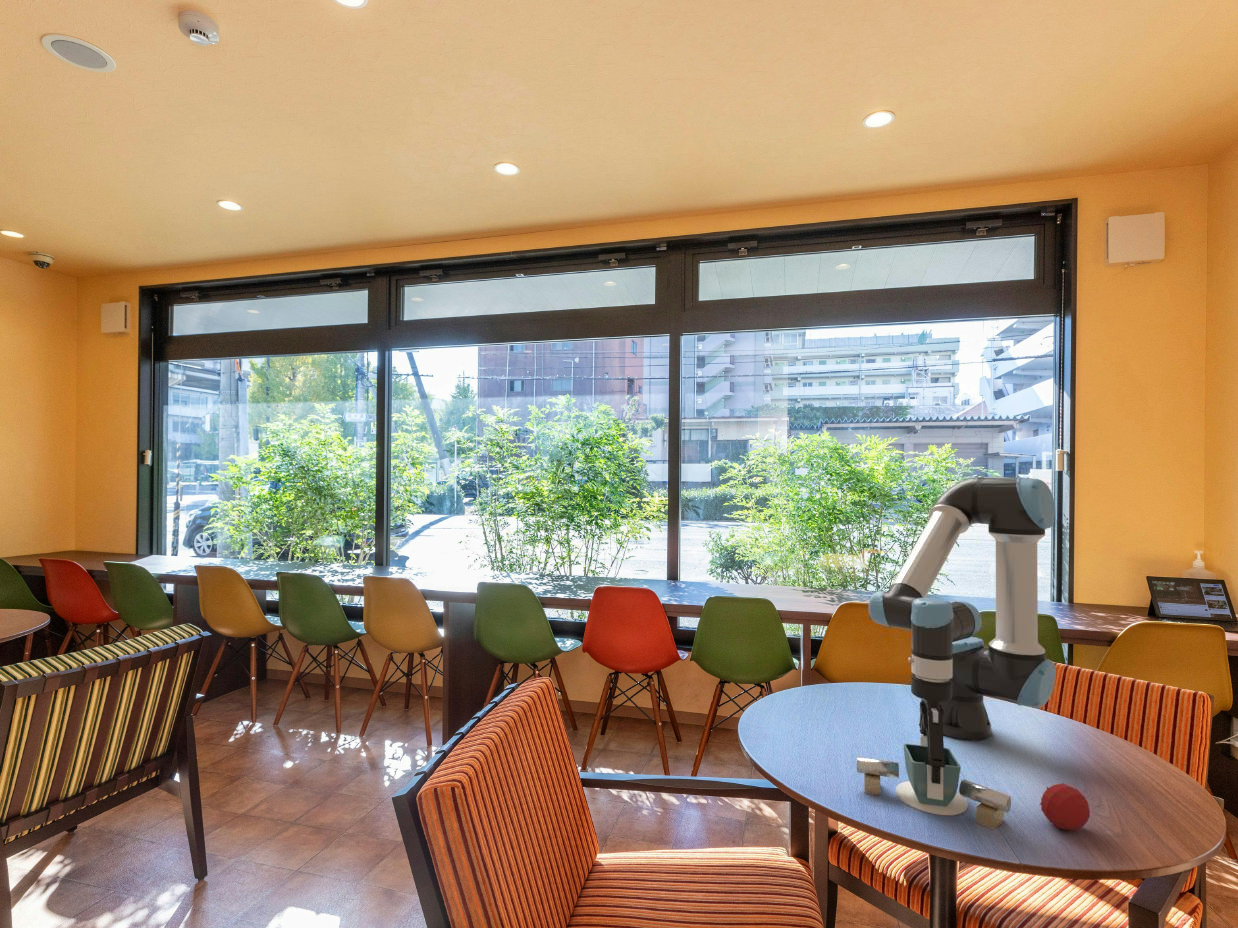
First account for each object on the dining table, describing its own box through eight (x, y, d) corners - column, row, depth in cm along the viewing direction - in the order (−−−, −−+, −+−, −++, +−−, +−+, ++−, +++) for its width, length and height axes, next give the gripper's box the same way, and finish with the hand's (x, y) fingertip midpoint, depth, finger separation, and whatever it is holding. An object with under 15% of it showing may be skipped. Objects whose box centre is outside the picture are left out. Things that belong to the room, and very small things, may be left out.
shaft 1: (897, 787, 133) (897, 758, 133) (899, 798, 129) (899, 768, 129) (856, 780, 136) (856, 752, 136) (856, 791, 131) (856, 761, 132)
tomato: (1089, 791, 115) (1052, 764, 122) (1057, 819, 114) (1021, 790, 122) (1105, 819, 117) (1068, 791, 124) (1073, 846, 117) (1038, 817, 124)
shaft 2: (956, 814, 123) (957, 783, 123) (967, 806, 126) (967, 775, 126) (1002, 833, 117) (1002, 800, 117) (1012, 823, 120) (1013, 791, 120)
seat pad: (938, 780, 137) (938, 778, 137) (983, 812, 124) (983, 810, 124) (882, 784, 134) (882, 782, 134) (922, 818, 121) (922, 815, 121)
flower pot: (961, 813, 122) (961, 766, 123) (912, 807, 124) (912, 761, 124) (948, 791, 131) (948, 747, 131) (902, 786, 133) (902, 742, 133)
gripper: (906, 657, 142) (905, 753, 142) (916, 693, 119) (916, 808, 119) (943, 661, 140) (943, 758, 139) (962, 699, 116) (961, 816, 116)
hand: (931, 782), depth 129 cm, fingers open, 13 cm apart
